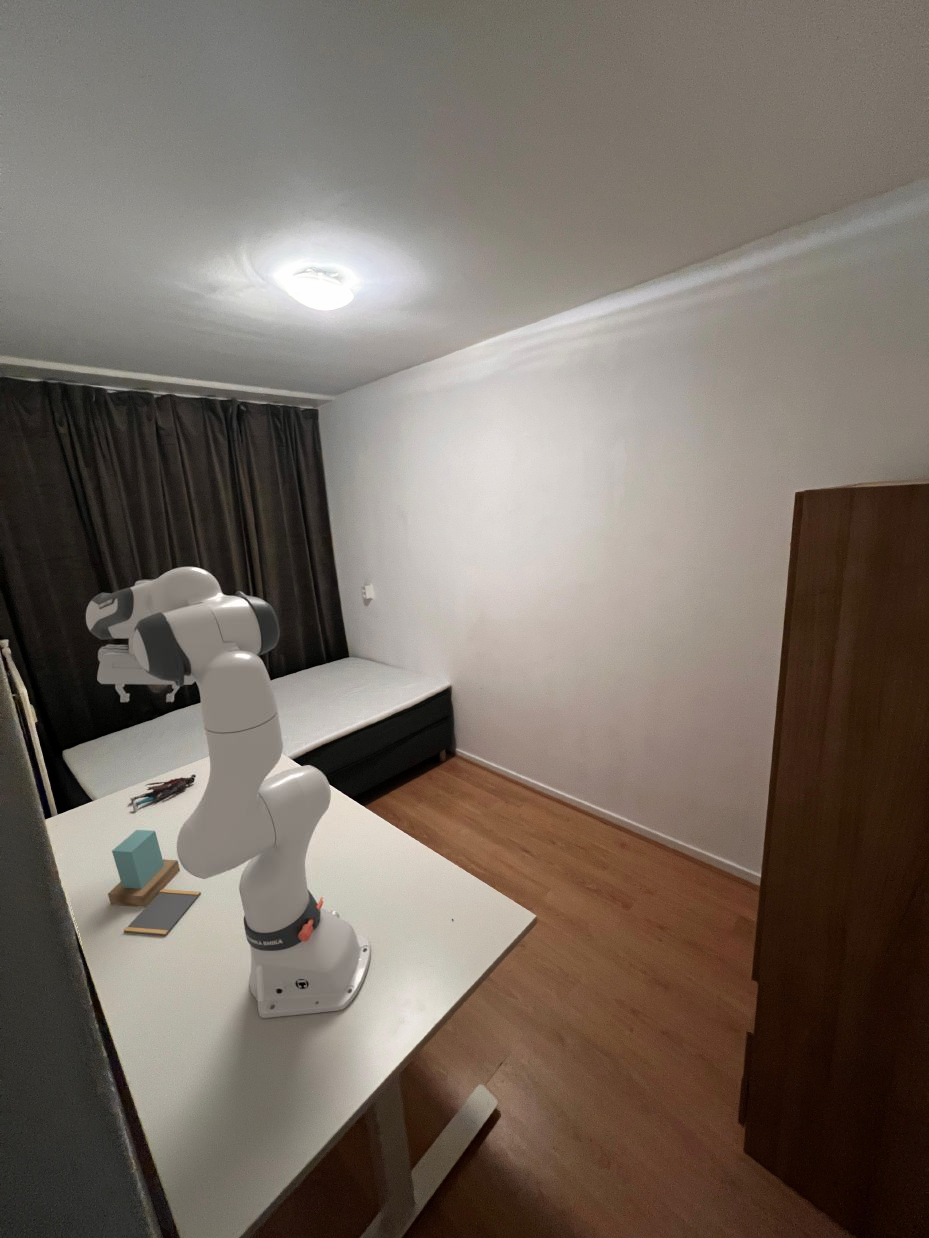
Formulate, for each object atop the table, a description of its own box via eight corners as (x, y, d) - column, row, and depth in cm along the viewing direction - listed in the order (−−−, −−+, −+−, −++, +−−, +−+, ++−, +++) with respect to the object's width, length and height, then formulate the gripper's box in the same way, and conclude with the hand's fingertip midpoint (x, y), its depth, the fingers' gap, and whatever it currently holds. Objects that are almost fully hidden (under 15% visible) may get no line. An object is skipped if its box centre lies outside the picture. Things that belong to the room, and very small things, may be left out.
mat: (200, 894, 111) (200, 891, 111) (166, 936, 101) (165, 933, 101) (162, 891, 113) (161, 888, 113) (124, 932, 102) (123, 930, 102)
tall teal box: (164, 865, 117) (155, 830, 114) (141, 888, 110) (131, 851, 108) (146, 864, 118) (136, 829, 115) (122, 887, 111) (111, 850, 108)
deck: (180, 870, 119) (177, 860, 118) (145, 907, 109) (142, 896, 108) (147, 868, 121) (145, 858, 120) (110, 904, 110) (107, 893, 109)
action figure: (135, 816, 144) (201, 788, 155) (130, 799, 142) (196, 772, 153) (131, 802, 149) (194, 776, 160) (126, 786, 147) (190, 761, 158)
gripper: (94, 646, 110) (91, 705, 111) (196, 649, 118) (192, 704, 119) (102, 641, 116) (100, 698, 117) (199, 645, 124) (195, 698, 125)
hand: (147, 701), depth 118 cm, fingers open, 8 cm apart
